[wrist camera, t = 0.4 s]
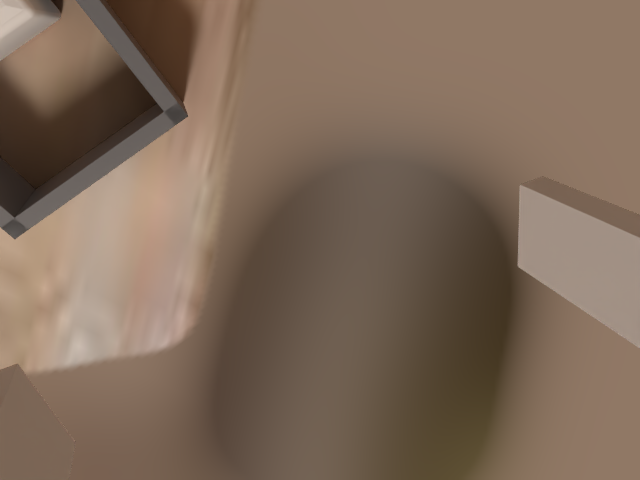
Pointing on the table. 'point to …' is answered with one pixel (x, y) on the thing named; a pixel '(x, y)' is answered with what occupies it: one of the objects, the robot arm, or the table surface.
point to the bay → (35, 204)
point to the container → (24, 22)
